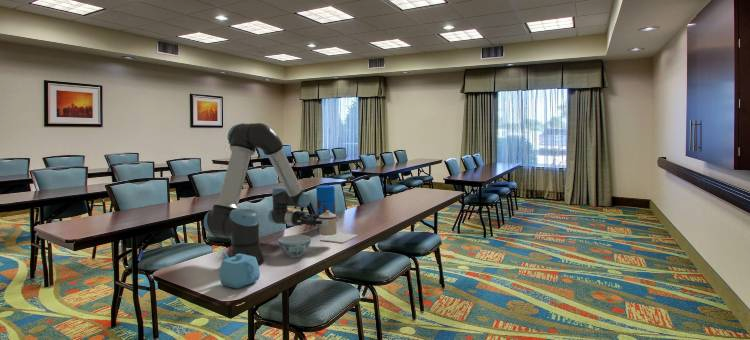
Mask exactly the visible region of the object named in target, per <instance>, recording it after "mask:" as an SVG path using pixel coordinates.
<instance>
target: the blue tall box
mask: <svg viewBox="0 0 750 340" xmlns="http://www.w3.org/2000/svg"><path fill="white" fill-rule="evenodd" d="M315 189H316V192H315V193H316V194H315V195H316V215H322V214H323V213H326V211H327V210H329V211H330V213H332V214H335V215H336V188H335V185H332V184H331V185H330V184H329V185H328V184H326V185H317V186H316V188H315ZM317 230H319V228H318V227H317Z"/></svg>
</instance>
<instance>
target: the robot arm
mask: <svg viewBox="0 0 750 340" xmlns="http://www.w3.org/2000/svg"><path fill="white" fill-rule="evenodd" d="M227 140H228V141H227V142H228V144H229V150H230V151H231V154H230V157H229V161H228V165H227V169H226V172H225V176H224V180H223V183H222V187H221V191H220V194H219V198H218V201H217V202H215V203H214V204H213V206H212V209H211V210H209V211H208V212H207V213H206V214H205V215H204V218H203V226H204V228H205V230H206V232H207V233H208V234H210V235H211V236H214V237H219V238H227V239H230V241H231V243H230V244H231V248H230V252H229V255H228V257H229V258H230V257H234V256H235V255H236V254H244V255H249V256H254V257H256V260H257V262H258V266H260V265H263V264H264V263H265V255H264V254H263V251H262V248H261V245H260V225H259V224H260V220H259V213H258V212H257V211H255V209H254V210H253V209H251V208H240V207H239V203H240V202H239V201H240V197H241V194H242V190H243V186H244V184H245V178H246V174H247V172H248V167H249V163H250V159H251V157H253V156H254V155H255V153H256V149H260V150H261V151H262V152H263V154H264V156H267V157H268V159H269V161H270V163H271V164H272V167H273V169H274V171H275V173H276V175H277V177H278V178H279V180H280V183H281V185H282V186H277V187H276V186H275V187H273V188H272V192H271V193H272V195H271V197H272V209H270V211H269V212H268V220H269V222H270V223H272V224H277V225H280V224H281V225H290V227H292V226H298V227H299V226H300V227H302V226H303V225H307V226H313V227H317V226H316V225H325V226H329V223H328V220H322V219H318V218H319V215H317V214H313V213H311V214H308V213H307V214H306V213H305V212H304V211H303V210H291V209H288V207H295V208H307V207H309V205H310V204H311V201H312V199H311V194H310V193H308V192H305V191H303V189H302V186H301V185H300V183H299V180H298V178H297V176H296V174H295V171H294V170H293V168H292V166H291V164H290V162H289V160H288V158H287V156H286V154H285V151H284V150H283V148H284V144H283V143H282V141H281V138H280V137H279V135H278V134H277V133H276V132H275V131H274V130H273V129H272V128H271V127H270V126H269V125H267V124H264V123H262V122H257V123H243V122H242V123H238V124H235V125H232V127H231V128H229V131H228V132H227ZM336 222H337V223H339V216H337V218H336Z"/></svg>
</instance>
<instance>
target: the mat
mask: <svg viewBox="0 0 750 340" xmlns="http://www.w3.org/2000/svg"><path fill="white" fill-rule="evenodd" d="M358 236H359V235H358V234H354V233H353V234H352V233H342V232H337V233H336V234H334V235H326V236H325V237H323V238H321V239H319V240H320V242H329V243H337V244H345V243H348V242H349V241H351V240H353V239H355V238H357V237H358Z"/></svg>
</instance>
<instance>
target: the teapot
mask: <svg viewBox="0 0 750 340" xmlns="http://www.w3.org/2000/svg"><path fill="white" fill-rule="evenodd" d="M221 255H222V257H223V260H222V261H221V266H220V269H219V282H220V283H221V285H223V286H225V287H229V288H234V289H242V288H243V287H244V286H248V285H252V284H254V283H255V282H257V281H259V280H260V276H261V274H260V267H259V266H260V265H258V262H257V260H256V257H254V256H249V255H244V254H236V255H235V256H234V257H230V258H229V255H228V254H227V253H226V252H221Z"/></svg>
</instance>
